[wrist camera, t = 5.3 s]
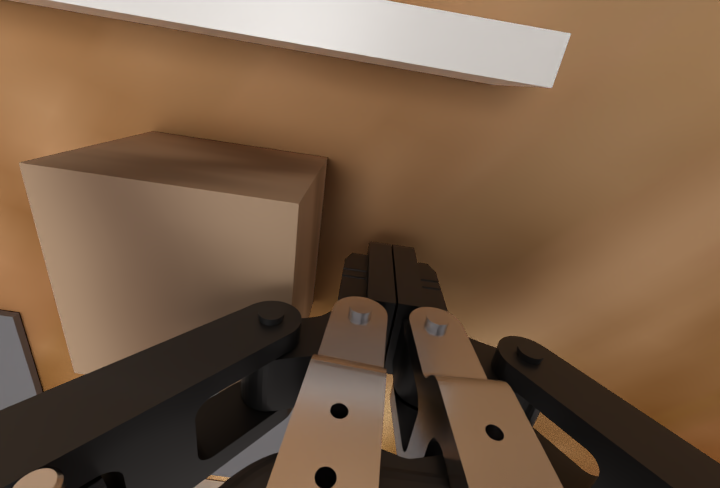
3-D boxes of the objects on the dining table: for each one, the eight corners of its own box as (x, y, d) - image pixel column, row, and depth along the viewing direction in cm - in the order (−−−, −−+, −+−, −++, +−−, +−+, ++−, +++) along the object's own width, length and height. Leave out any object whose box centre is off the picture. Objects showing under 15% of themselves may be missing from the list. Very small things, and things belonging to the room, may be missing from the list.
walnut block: (327, 157, 12) (298, 203, 8) (312, 302, 15) (285, 401, 10) (152, 131, 12) (18, 162, 8) (167, 282, 15) (74, 372, 10)
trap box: (506, 44, 11) (589, 23, 6) (370, 513, 21) (369, 622, 17) (-559, -144, 10) (-1249, -309, 6) (-160, 438, 20) (-302, 533, 16)
